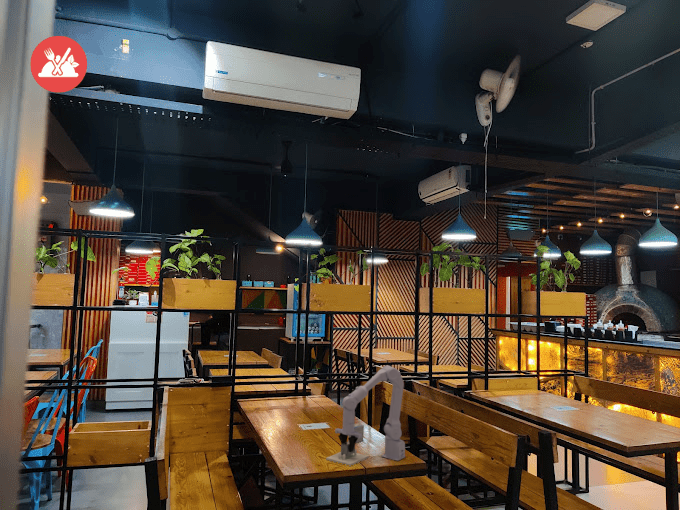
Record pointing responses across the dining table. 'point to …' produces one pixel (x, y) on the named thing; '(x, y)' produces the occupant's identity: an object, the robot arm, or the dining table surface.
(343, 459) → the pin tray
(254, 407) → the dining table surface
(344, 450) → the block
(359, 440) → the medicine box
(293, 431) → the dining table surface
